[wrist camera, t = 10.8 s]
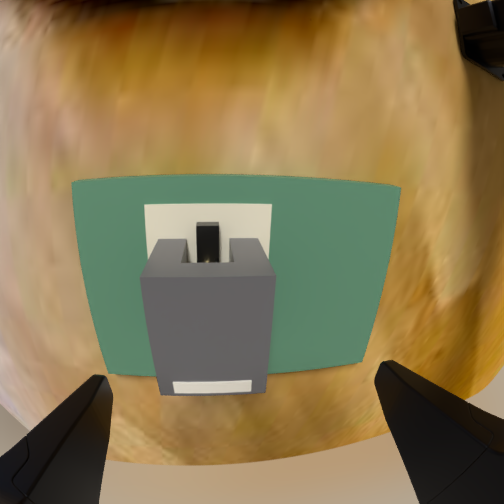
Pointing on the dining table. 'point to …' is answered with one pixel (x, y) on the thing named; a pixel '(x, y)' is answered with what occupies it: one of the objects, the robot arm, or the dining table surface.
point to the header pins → (207, 242)
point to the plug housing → (209, 319)
